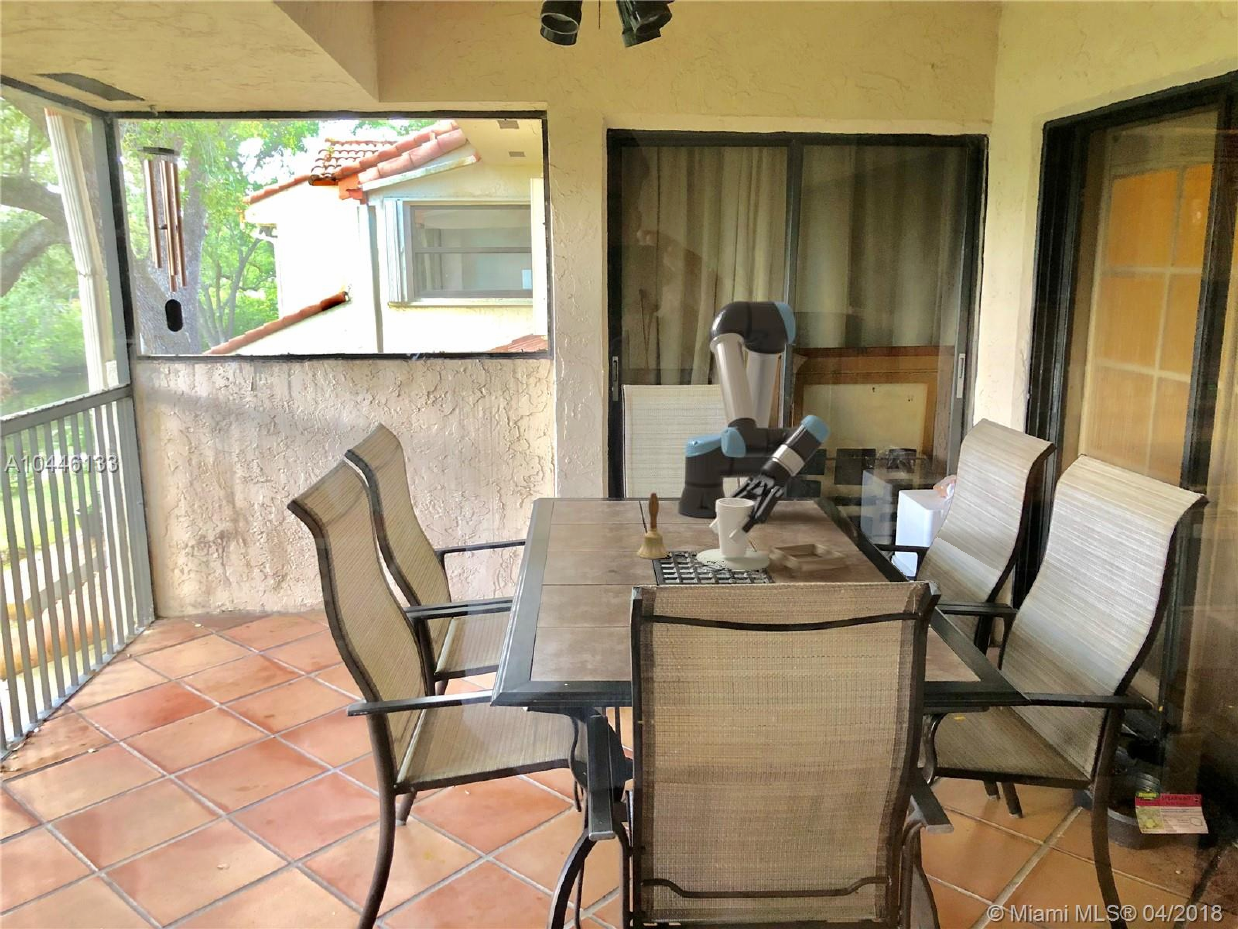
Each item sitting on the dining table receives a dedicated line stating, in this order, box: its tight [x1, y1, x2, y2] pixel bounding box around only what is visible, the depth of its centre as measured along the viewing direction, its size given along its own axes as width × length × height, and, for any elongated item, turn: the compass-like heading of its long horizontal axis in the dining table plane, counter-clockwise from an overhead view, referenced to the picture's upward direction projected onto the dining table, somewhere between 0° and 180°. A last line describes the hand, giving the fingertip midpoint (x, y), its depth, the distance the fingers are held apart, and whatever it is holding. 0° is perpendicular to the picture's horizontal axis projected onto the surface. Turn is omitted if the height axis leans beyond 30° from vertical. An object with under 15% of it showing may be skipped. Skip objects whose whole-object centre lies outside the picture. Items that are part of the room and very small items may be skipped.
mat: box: [695, 548, 771, 571], centre depth 224 cm, size 18×18×1 cm
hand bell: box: [636, 492, 670, 561], centre depth 226 cm, size 8×8×16 cm
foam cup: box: [716, 497, 756, 557], centre depth 223 cm, size 10×9×13 cm
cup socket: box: [768, 542, 848, 573], centre depth 224 cm, size 14×14×2 cm
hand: (722, 535), depth 222 cm, fingers open, 9 cm apart
